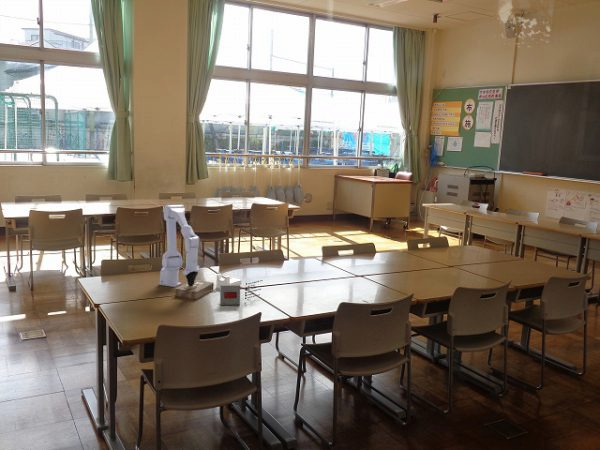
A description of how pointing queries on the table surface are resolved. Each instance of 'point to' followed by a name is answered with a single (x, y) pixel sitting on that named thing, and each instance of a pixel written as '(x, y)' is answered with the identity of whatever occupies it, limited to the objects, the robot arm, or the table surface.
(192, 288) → the peg
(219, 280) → the bracket
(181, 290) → the band block
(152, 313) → the table surface
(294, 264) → the table surface
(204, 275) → the table surface
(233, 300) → the voltmeter
